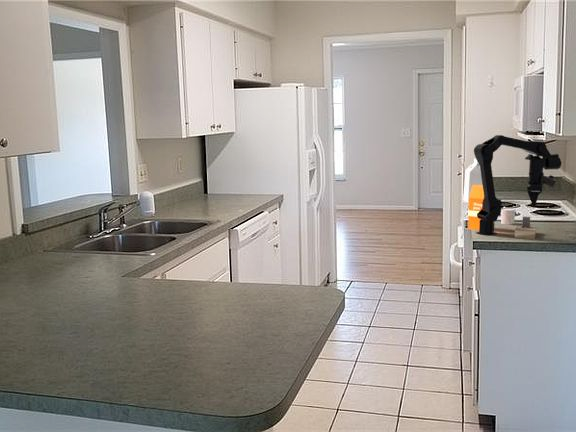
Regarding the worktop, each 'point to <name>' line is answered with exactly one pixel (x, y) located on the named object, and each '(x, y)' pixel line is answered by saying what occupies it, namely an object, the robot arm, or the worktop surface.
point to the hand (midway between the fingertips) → (534, 205)
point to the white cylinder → (507, 216)
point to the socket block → (525, 232)
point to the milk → (471, 179)
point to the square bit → (526, 222)
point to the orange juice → (475, 206)
